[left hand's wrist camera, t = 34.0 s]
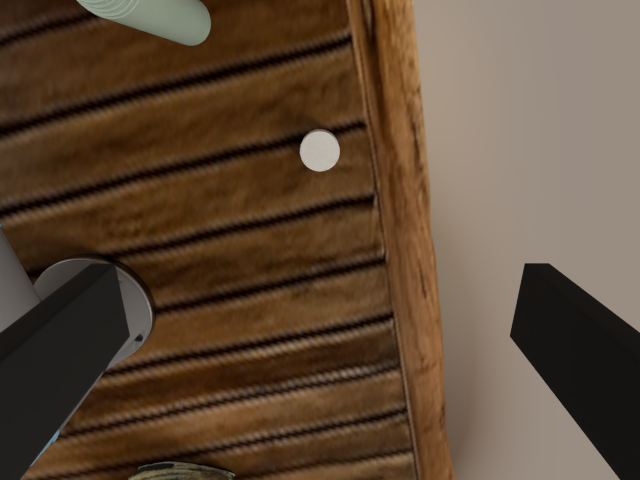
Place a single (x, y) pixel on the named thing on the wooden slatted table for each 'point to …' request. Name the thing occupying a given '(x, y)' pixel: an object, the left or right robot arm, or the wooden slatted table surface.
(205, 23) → the bottle
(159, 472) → the fossil
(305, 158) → the cap
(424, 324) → the wooden slatted table surface
